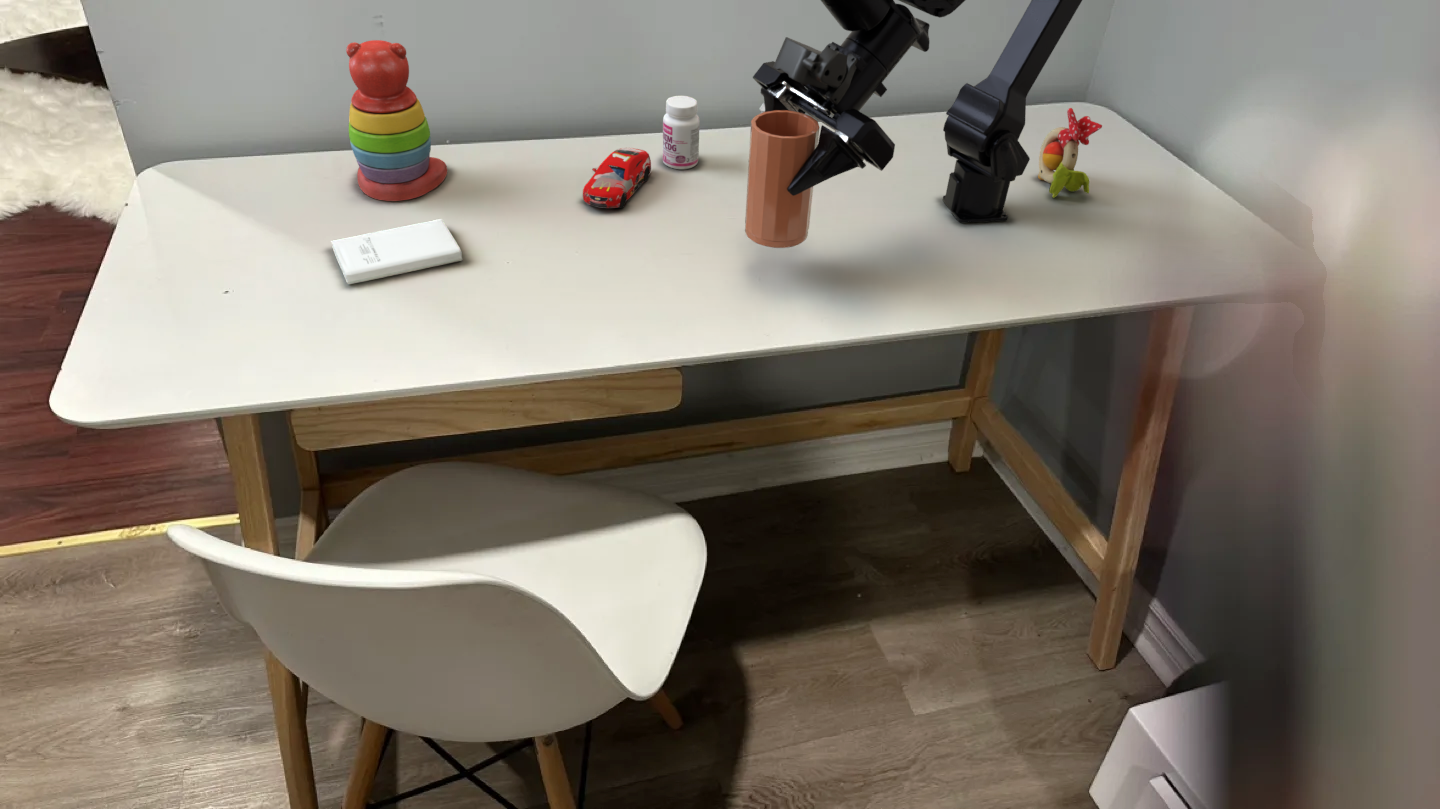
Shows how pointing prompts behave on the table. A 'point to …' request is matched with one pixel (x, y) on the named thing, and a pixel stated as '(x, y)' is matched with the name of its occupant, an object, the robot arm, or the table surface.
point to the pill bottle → (681, 133)
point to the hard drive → (396, 251)
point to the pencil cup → (779, 178)
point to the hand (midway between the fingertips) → (770, 178)
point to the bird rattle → (1065, 154)
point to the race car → (617, 178)
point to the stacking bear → (389, 125)
